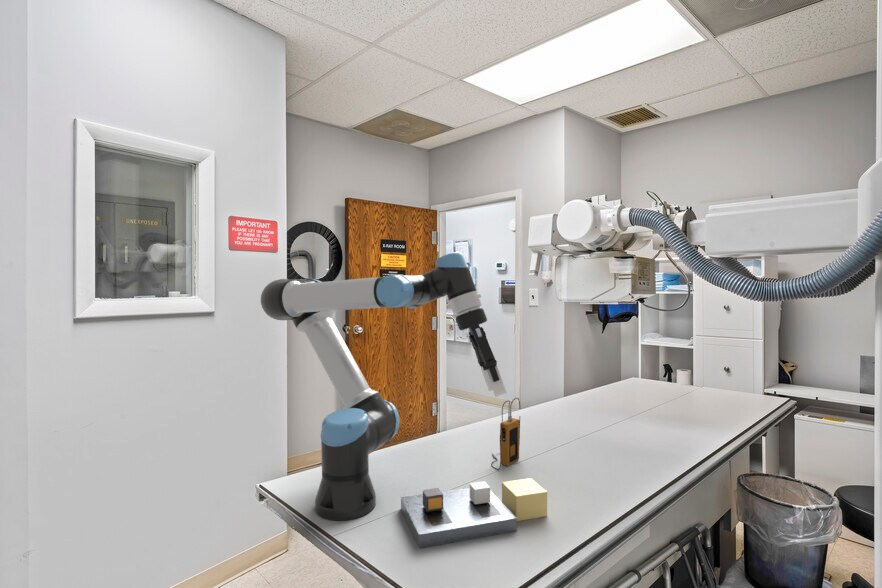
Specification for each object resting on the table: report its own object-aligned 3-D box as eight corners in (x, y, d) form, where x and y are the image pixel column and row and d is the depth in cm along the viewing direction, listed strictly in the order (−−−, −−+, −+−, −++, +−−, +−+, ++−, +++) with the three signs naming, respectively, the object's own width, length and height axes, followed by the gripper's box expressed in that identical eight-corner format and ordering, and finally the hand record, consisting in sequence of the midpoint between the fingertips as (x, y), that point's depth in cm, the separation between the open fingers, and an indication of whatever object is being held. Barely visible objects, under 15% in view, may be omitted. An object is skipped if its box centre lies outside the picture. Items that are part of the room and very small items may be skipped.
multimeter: (499, 449, 158) (499, 390, 158) (525, 456, 152) (525, 395, 152) (473, 462, 147) (473, 399, 146) (501, 471, 141) (501, 404, 140)
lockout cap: (516, 521, 112) (516, 496, 111) (501, 505, 119) (502, 482, 119) (547, 516, 114) (547, 491, 114) (530, 500, 122) (531, 477, 122)
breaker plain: (474, 504, 113) (474, 489, 113) (469, 497, 116) (469, 483, 116) (490, 501, 114) (490, 487, 114) (484, 495, 118) (484, 481, 117)
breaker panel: (419, 548, 101) (419, 534, 100) (401, 509, 118) (400, 497, 118) (516, 531, 107) (516, 518, 107) (486, 496, 125) (486, 484, 124)
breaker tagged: (427, 512, 109) (427, 497, 109) (422, 504, 113) (422, 490, 113) (443, 509, 110) (443, 494, 110) (438, 502, 114) (438, 487, 114)
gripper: (487, 302, 107) (520, 391, 105) (478, 310, 132) (504, 382, 130) (456, 312, 107) (488, 402, 105) (453, 319, 132) (478, 392, 129)
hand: (497, 391), depth 117 cm, fingers open, 13 cm apart
